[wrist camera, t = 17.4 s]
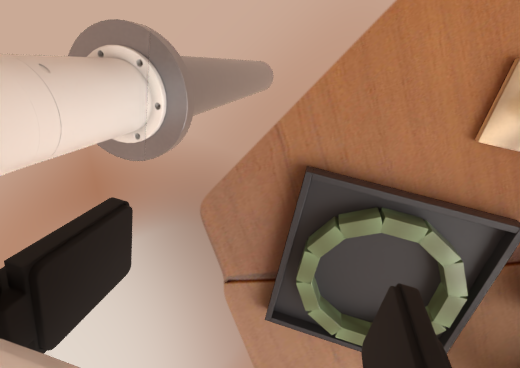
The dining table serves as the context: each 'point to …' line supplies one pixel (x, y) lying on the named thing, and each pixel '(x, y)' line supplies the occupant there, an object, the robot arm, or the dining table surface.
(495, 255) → the tray
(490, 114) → the peg
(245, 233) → the dining table surface
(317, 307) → the green ring
